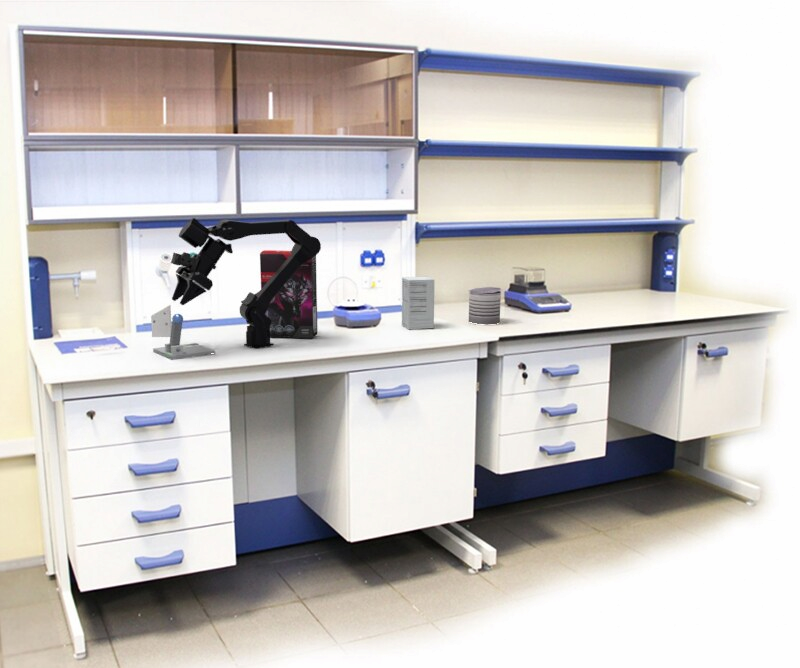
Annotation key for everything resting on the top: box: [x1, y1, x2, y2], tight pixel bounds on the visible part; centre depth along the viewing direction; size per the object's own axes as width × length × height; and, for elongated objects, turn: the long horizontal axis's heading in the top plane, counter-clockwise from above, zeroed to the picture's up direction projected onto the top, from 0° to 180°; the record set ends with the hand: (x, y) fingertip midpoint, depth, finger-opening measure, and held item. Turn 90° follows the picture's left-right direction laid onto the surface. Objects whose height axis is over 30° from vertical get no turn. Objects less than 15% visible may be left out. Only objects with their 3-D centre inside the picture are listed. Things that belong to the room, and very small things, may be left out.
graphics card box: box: [259, 249, 319, 339], centre depth 268 cm, size 17×7×27 cm, turn 83°
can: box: [468, 286, 502, 325], centre depth 298 cm, size 11×11×12 cm
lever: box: [168, 313, 184, 350], centre depth 238 cm, size 3×3×10 cm
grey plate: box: [150, 304, 172, 338], centre depth 269 cm, size 4×10×9 cm, turn 92°
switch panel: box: [152, 342, 216, 360], centre depth 244 cm, size 13×13×4 cm
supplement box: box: [401, 276, 435, 330], centre depth 287 cm, size 10×9×17 cm
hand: (177, 302), depth 242 cm, fingers open, 9 cm apart
